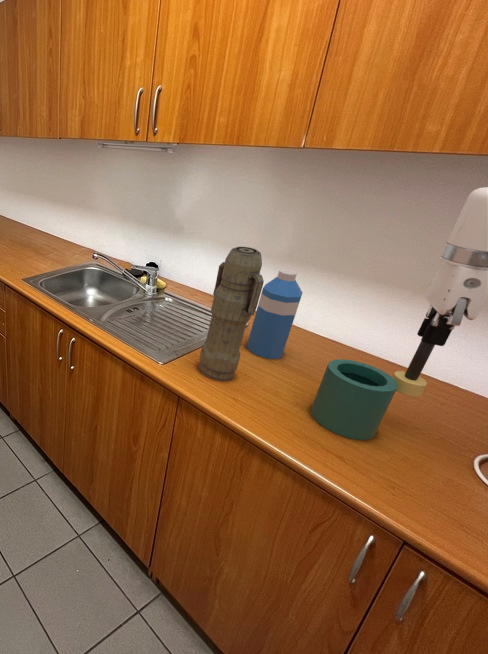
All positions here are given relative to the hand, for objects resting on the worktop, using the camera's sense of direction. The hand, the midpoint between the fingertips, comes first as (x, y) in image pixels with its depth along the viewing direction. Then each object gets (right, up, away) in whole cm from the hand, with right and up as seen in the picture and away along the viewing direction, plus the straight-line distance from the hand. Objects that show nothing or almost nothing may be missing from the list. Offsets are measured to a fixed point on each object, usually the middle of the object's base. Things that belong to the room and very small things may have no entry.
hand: (430, 339), depth 80 cm
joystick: (0, -11, +5) cm, 13 cm away
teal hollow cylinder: (-10, -20, +9) cm, 24 cm away
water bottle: (-9, -9, +36) cm, 38 cm away
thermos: (-28, -13, +27) cm, 41 cm away
